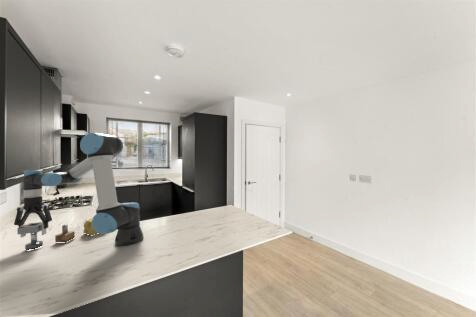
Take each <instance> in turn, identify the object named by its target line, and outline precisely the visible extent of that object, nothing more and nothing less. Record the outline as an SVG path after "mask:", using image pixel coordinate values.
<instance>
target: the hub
mask: <svg viewBox="0 0 476 317" xmlns="http://www.w3.org/2000/svg"><path fill="white" fill-rule="evenodd" d="M43 242H44V241H43V240H38V232H36V233H30V242H29V243H26V244H25V245H24V249H26V250H29V249H35V248H38V247H40V246H42V245H43V246H44V244H43Z"/></svg>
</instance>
